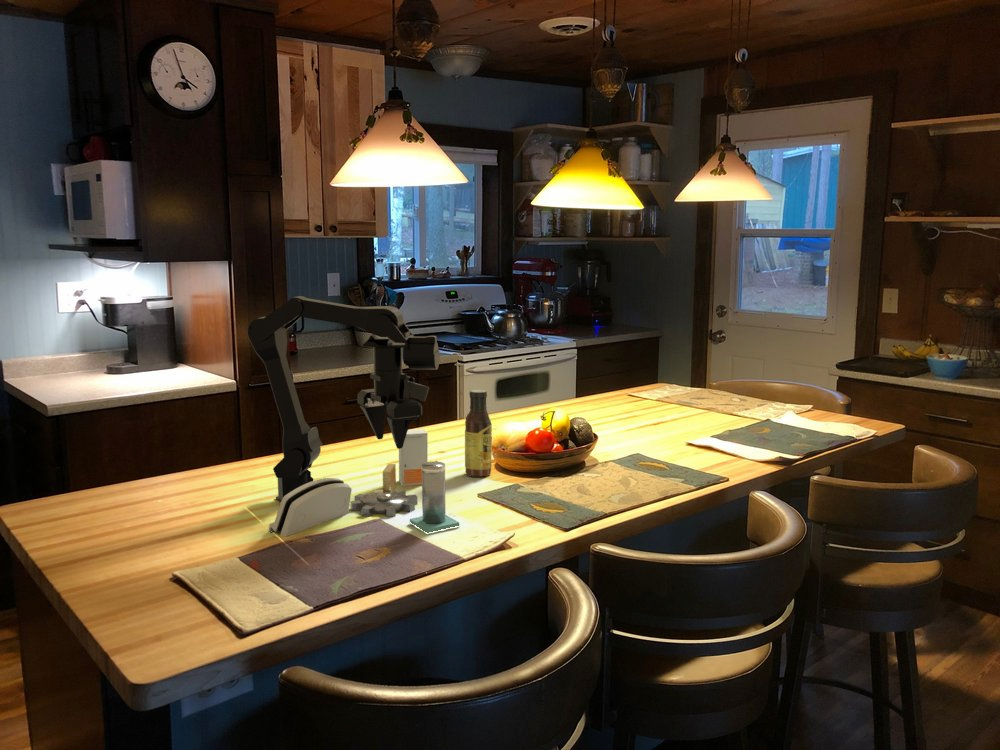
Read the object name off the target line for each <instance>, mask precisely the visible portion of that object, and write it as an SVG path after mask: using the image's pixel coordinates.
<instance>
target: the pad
mask: <svg viewBox="0 0 1000 750" xmlns="http://www.w3.org/2000/svg"><path fill="white" fill-rule="evenodd" d="M410 522H411V523H412V524H414V525H416V526H417V527H419V528H420V529H422V530H423V531H425V532H427V533H429V532H433V531H438V530H441V529H446V528H450V527H455V526H459V527H460V522H459V521H457V520H456V519H454V518H452V517H450V516H448V515H447V514H446V520H445V521H444V522H442V523H438V524H429V523H425V522H423V515H422V516H417V517H413V518H409V523H410Z"/></svg>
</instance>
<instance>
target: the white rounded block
mask: <svg viewBox="0 0 1000 750" xmlns="http://www.w3.org/2000/svg"><path fill="white" fill-rule="evenodd" d="M352 491H353V490H352V487H351V486H350V485H349V484H348V483H345V482H344V480H342V479H340V478H338V477H335V478H334V477H327V478H326V477H325V478H319V479H315V480H313V481H312V482H309V483H306V484H304V485H302V486H300V487H298V488H296V489H295V490H293V491H291V492H290V493H288V494H287V495H285V496H284V497H283V499H282V501H281V503H280V504H279V507H278V511H277V512H276V513H277V514H276V517H275V520H274V522H272V523H269V526H268V530H267V533H272V531H273V532H276V533H277V532H279V533H280V535H279V536H280V537H288V536H291V535H294V534H297V533H299V532H301V531H304V530H307V529H310V528H312V527H315V526H318V525H321V524H324V523H327V522H329V521H332V520H334V519H337V518H339V517H341V516H344V515H348V514H349V510H350V505H351V503H350V501H351V496H352Z"/></svg>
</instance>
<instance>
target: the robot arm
mask: <svg viewBox="0 0 1000 750" xmlns="http://www.w3.org/2000/svg"><path fill="white" fill-rule="evenodd" d="M301 318H305V319H310V320H316V321H321V322H322V321H323V322H329V323H335V324H340V325H345V326H352V327H356V328H358V329H359V330H362V331H364V332H365V333H368V334H371V335H370V336H369V338H368V339H367V340H366V341H365V342H363V344H362V347H364V348H372V349H373V351H372V352H373V355H372V356H373V372H372V373H370V375H369V377H370V379H371V380H373V385H374V386H373V388H367V389H361V390H360V391H359V392H358V393H357V396H356V397H357V404H358V405H360V406H359V407H360V409H361V410H362V411H363V413H364V415H365V417H366V419H367V421H368V423H369V425H370V427H371V428H372V431H373V433H374V435H375V437H376V439H377V440H383V438H384V433H385V422H386V419H387V423H388V427H389V429H390V432H391V434H392V435H391V436H392V438H393V441H394V445H395V446H396V448H397V449H398V450H399V449H400V448H402V447H403V444H404V441H405V438H406V434H407V431H408V430H409V428H410V426H411V425H410V424H412V422H414V421H415V420H417V419H418V418H419V417H420V416H423V405H422V403H420V402H419V401H418V400H420V401H421V402H423V403H424V402H426V400H427V396H428V393H429V390H430V387H429V386H426V385H423V384H420V383H416V381H415V378H414V377H412V376H409V375H407V373H403V364H404V365H405V366H407V367H408V369H409V370H432V371H433V370H438V369H439V365H440V349H439V345H438V342H437V341H438V340H437V339H438V337H437V336H436V335H427V336H415V335H414V334H413V332H411V330H410V328H409V327H408V326H407V325H406V323H405V322H404V317H403V314H402V312H401V311H400V309H399V308H398V307H395V306H391V305H389V306H388V305H386V306H385V305H384V306H383V305H376V306H374V305H373V306H357V305H356V306H355V305H348V304H343V303H337V302H331V301H325V300H320V299H314V298H307V297H306V296H303V295H299V296H293V297H290V298H289V299H288V300H287V301H286V302H285V303H284V304H282V305H280V306H279V307H277V308H276V309H275V310H273V311H272V312H269V313H268V314H267V315H266V316H261V317H258V318H255V319H252V321H251V322H250V323H249V325H248V326H247V329H246V334H247V337H248V340H249V342H250V344H251V346H252V348H253V350H254V352H255V353H256V355H257V356H258V357H259V359H261V361H262V363H263V364H264V366H265V370H266V371H265V372H266V374H267V377H268V380H269V384H270V387H271V390H272V394H273V398H274V401H275V404H276V408H277V411H278V414H279V417H280V421H281V425H282V428H283V430H282V431H283V432H282V441H281V442H282V444H281V445H282V452H283V457H282V459H281V460H280V461H279V462H278V463H277V464H276V465H275V466H274V467H273V468H272V470H273V473H274V475H275V478H277V496H275V500H276V501H277V502H278V503H280V504H281V501H282V499H283V497H284V496H285V495H287V494H288V493H290V492H291V491H293V490H295V489H296V488H298V487H300V486H302V485H304V484H306V483H309V482H312V481H314V478H313V477H312V472H311V471H310V470H309V469H311V468H312V465H313V463H314V461H315V460H317V459H318V457H319V456H320V454H321V447H322V445H323V442H322V440H321V439H320V435H319V429H318V427H317V426H314V427H311V426H309V424H308V423H307V422H306V420H305V417H304V414H303V409H302V407H301V406H302V405H301V404H300V403H301V402H300V399H299V396H298V393H297V389H296V386H295V382H294V378H293V375H292V372H291V369H290V366H289V362H288V358H287V351H288V349H287V348H288V337H287V330H288V329H290V327H292V326H293V325H294V324H295V323H297V322H298V321H299V320H300V319H301ZM378 337H379V338H378ZM380 337H381V338H380ZM412 398H413V399H412ZM386 413H387V416H386Z"/></svg>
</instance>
